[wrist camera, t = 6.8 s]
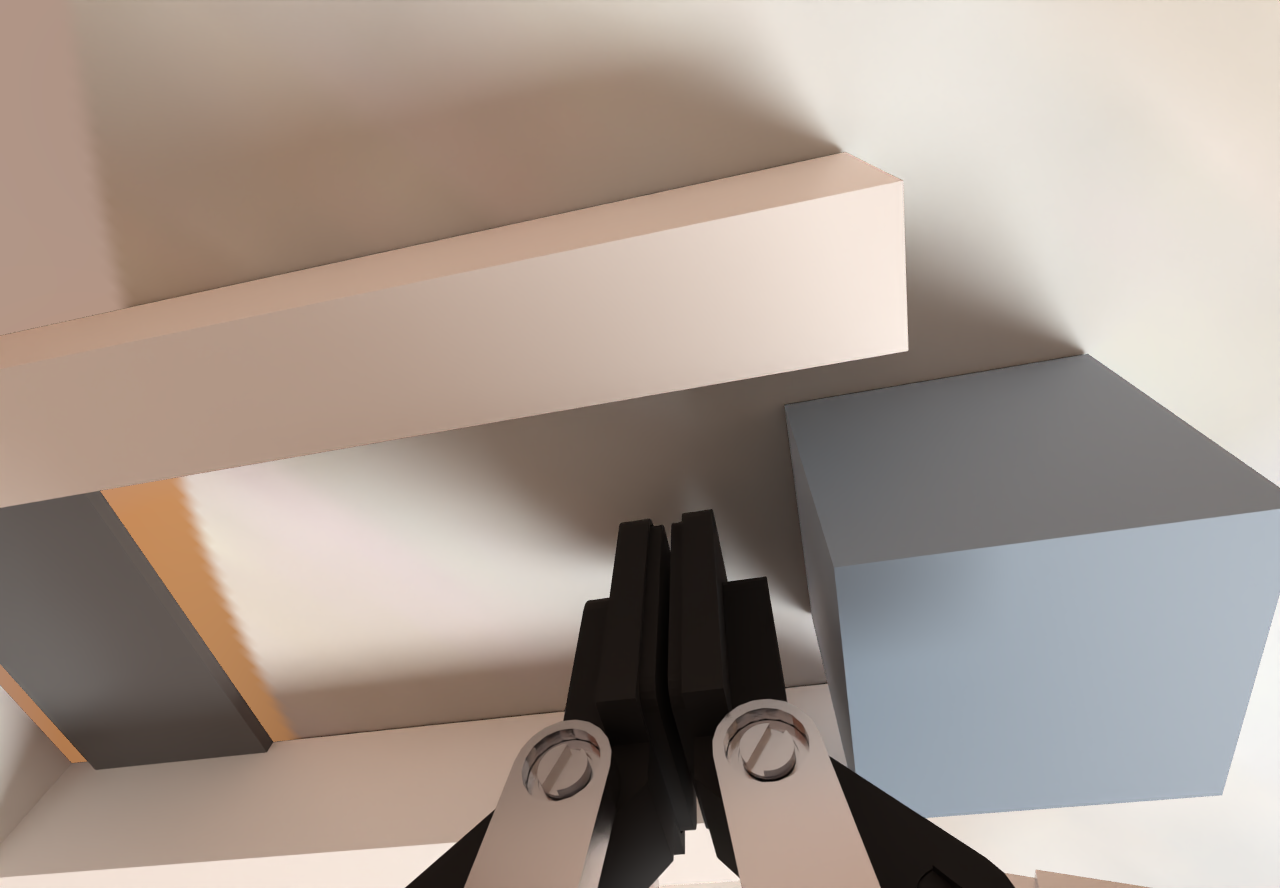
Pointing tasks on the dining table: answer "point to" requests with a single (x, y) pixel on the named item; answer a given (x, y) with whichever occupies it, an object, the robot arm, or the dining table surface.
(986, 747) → the block
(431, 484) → the dining table surface
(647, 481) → the dining table surface
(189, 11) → the dining table surface
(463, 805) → the channel
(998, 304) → the dining table surface
